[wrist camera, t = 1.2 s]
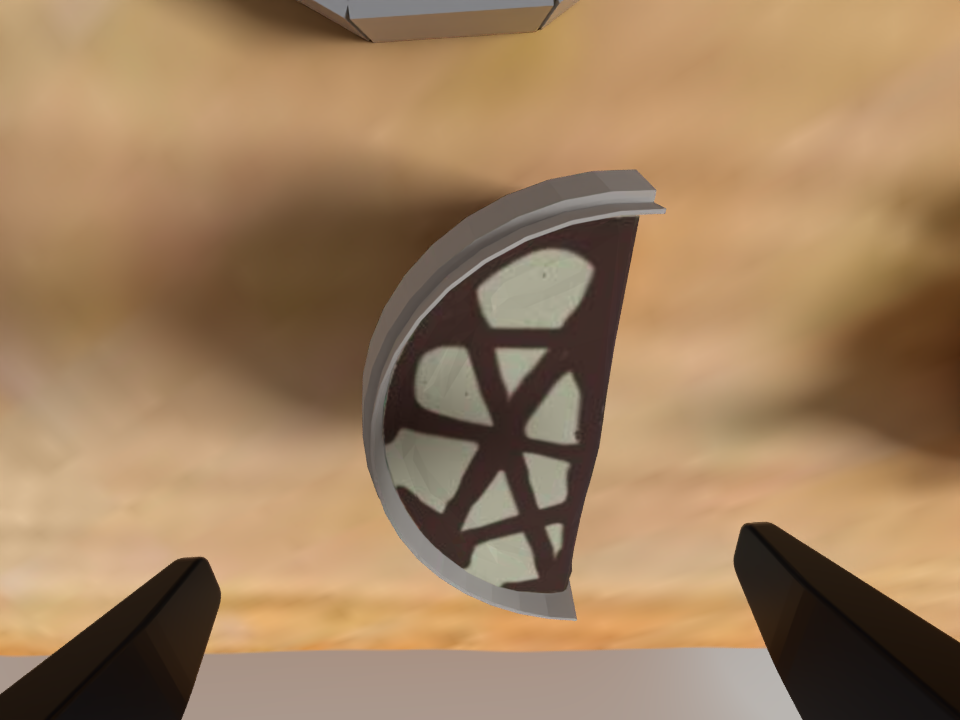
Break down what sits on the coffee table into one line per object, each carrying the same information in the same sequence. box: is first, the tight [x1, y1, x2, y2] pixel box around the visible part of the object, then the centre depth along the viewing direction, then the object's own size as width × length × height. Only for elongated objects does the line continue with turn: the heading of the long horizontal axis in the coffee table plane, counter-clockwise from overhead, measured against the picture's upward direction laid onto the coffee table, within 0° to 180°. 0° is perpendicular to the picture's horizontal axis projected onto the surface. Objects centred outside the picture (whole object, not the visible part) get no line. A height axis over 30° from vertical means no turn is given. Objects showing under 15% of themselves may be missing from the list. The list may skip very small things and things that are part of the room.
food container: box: [362, 170, 666, 621], centre depth 15 cm, size 12×6×10 cm, turn 177°
